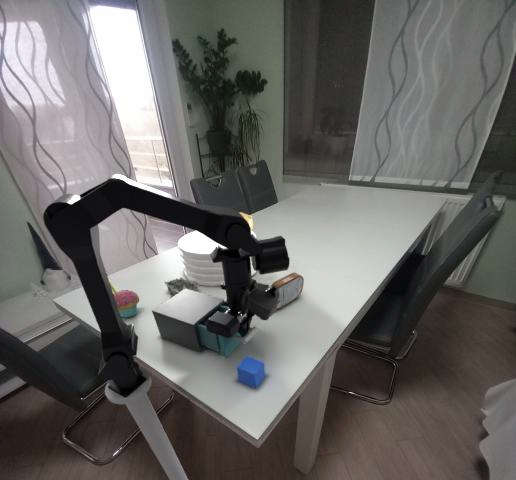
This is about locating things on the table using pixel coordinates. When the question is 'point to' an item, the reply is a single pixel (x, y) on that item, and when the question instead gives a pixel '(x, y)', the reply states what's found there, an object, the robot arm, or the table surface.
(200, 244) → the plate stack
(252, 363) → the blue toy brick
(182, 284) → the egg carton
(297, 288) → the tin
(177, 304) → the cabinet
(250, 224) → the sculpture
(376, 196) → the table surface
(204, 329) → the drawer
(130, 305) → the cupcake
